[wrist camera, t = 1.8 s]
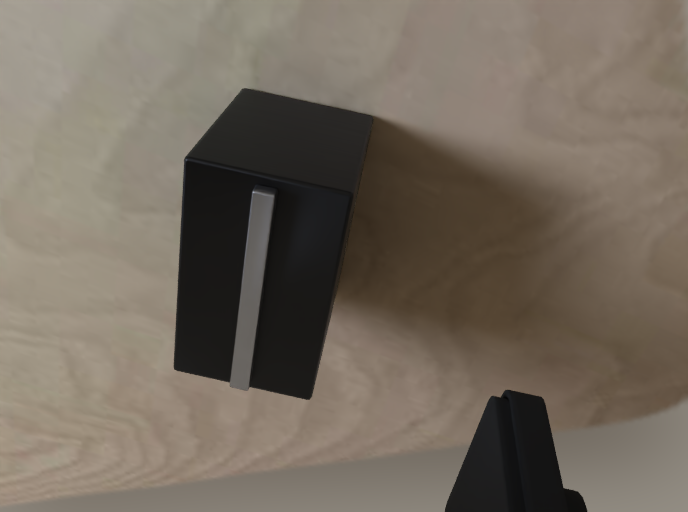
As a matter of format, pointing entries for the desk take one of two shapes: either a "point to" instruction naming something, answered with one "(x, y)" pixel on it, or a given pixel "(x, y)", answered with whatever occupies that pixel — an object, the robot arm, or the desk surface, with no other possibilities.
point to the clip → (265, 240)
